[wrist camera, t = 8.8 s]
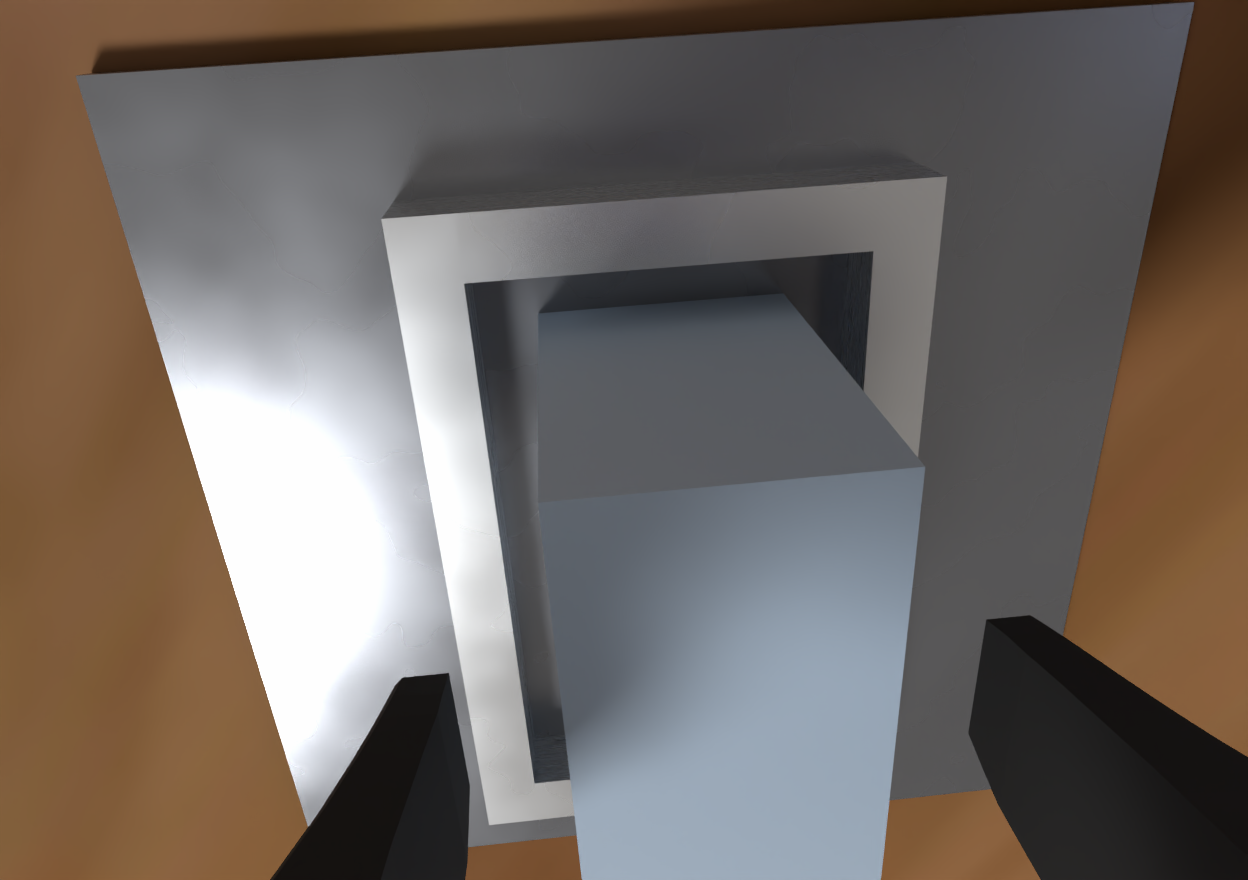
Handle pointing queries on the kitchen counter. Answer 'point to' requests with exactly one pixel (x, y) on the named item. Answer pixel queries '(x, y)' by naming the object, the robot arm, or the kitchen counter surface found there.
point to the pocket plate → (615, 277)
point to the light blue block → (722, 590)
